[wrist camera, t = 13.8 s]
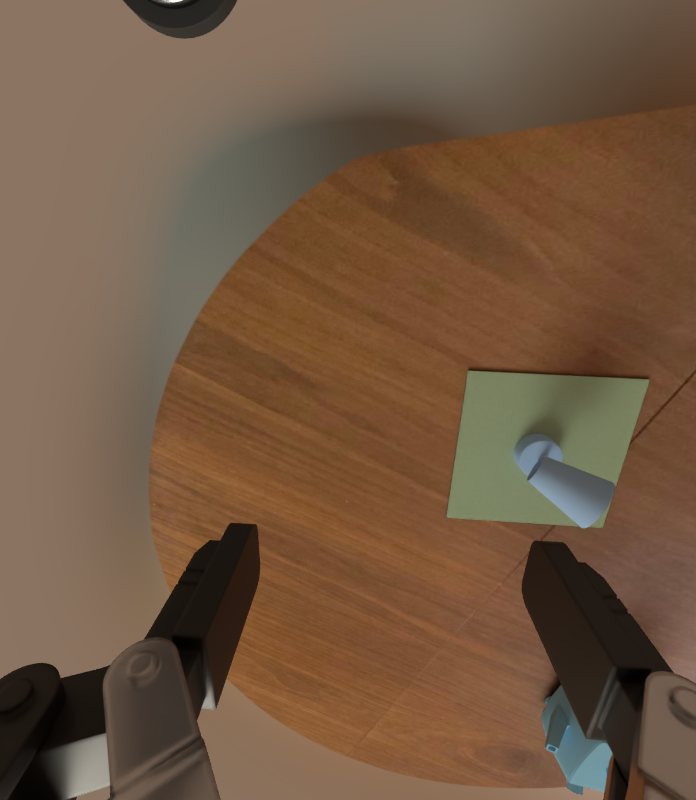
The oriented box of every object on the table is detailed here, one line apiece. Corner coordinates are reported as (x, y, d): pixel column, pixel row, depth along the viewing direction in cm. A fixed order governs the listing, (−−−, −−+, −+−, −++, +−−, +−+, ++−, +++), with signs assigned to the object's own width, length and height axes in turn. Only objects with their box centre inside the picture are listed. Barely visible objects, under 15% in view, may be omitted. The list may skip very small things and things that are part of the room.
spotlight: (579, 448, 41) (524, 422, 40) (641, 503, 31) (570, 470, 31) (551, 483, 42) (498, 459, 42) (602, 546, 33) (535, 515, 32)
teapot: (588, 740, 57) (631, 836, 47) (499, 719, 56) (525, 811, 47) (651, 660, 51) (715, 751, 41) (552, 635, 50) (594, 722, 41)
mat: (467, 370, 39) (468, 370, 39) (648, 379, 38) (649, 379, 38) (446, 516, 45) (446, 517, 45) (601, 526, 44) (602, 527, 44)
